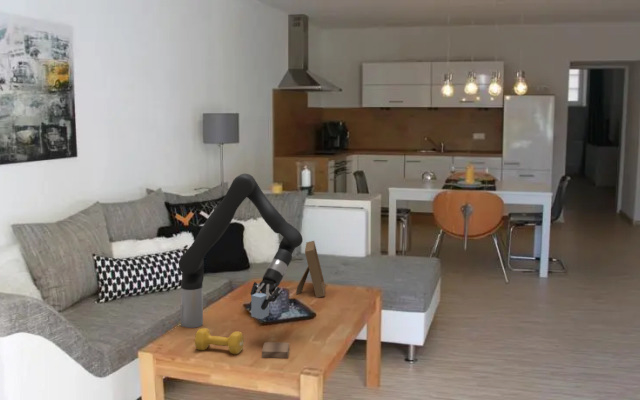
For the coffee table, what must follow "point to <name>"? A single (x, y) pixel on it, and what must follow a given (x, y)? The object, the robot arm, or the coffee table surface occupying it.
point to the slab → (275, 350)
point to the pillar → (258, 306)
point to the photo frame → (312, 271)
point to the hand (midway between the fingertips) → (257, 307)
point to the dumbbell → (219, 340)
